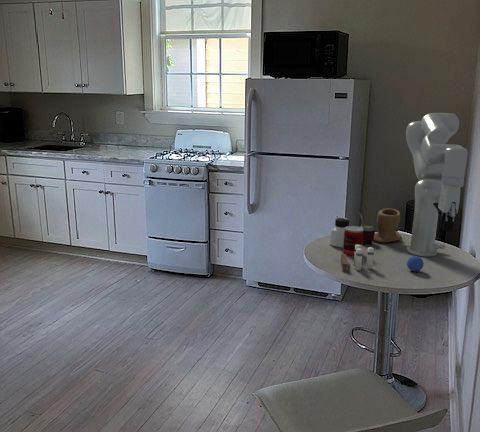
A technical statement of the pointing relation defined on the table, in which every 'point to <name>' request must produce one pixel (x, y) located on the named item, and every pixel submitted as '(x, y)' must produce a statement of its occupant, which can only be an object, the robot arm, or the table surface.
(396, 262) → the table surface
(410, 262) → the ball
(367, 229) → the mate gourd
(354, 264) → the back pin right
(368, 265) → the front pin
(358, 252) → the back pin left
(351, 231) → the canned food
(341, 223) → the medicine bottle
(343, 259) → the stopper wall
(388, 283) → the table surface
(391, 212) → the stone cup
